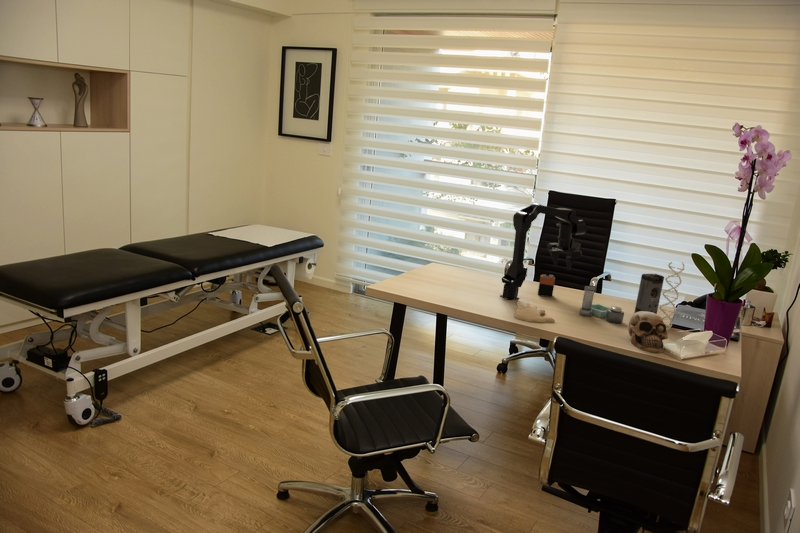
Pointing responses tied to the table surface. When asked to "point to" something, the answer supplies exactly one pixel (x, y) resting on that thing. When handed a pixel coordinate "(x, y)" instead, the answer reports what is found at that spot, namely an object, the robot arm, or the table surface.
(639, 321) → the tan skull model
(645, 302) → the electronic device
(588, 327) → the table surface
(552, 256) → the robot arm
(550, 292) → the battery
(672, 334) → the table surface
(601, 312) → the tray
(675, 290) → the dna model
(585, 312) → the grey cylindrical piece
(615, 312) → the calibration weight
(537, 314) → the hand model
